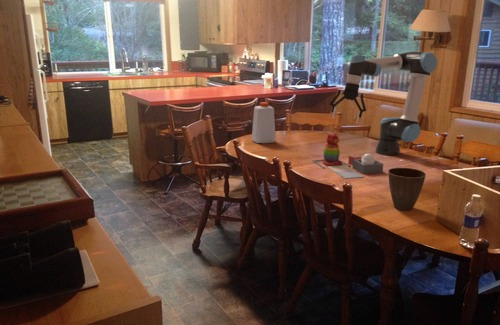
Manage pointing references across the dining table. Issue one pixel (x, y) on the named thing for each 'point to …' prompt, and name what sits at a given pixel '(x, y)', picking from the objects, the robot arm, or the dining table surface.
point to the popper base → (367, 167)
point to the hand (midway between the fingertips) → (344, 120)
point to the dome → (368, 159)
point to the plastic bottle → (263, 124)
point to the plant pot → (405, 187)
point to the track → (342, 170)
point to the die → (353, 159)
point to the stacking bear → (332, 151)
